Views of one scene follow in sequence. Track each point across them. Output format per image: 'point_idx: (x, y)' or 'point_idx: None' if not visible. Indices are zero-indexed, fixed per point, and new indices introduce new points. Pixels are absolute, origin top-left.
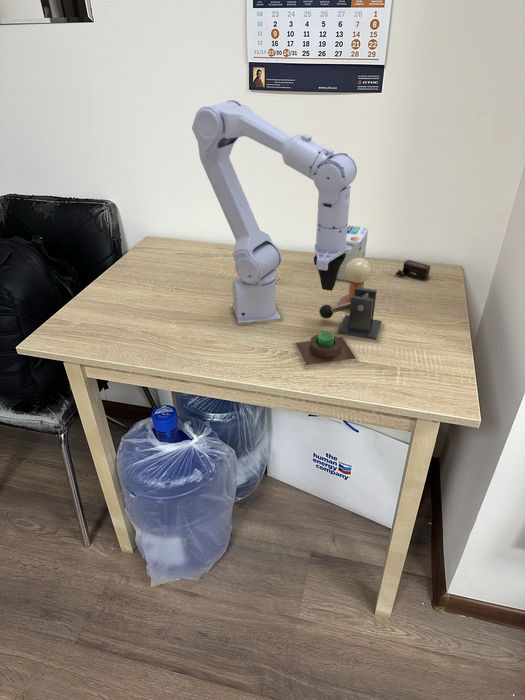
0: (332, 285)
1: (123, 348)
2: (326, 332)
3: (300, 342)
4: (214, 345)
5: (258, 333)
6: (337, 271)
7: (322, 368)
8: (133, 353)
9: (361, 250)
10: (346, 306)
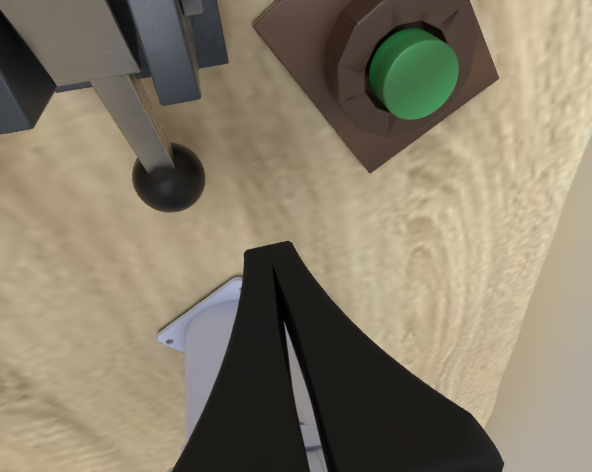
0: (307, 269)
1: (465, 390)
2: (390, 94)
3: (364, 161)
4: (424, 313)
5: (338, 277)
6: (382, 361)
7: (495, 13)
8: (477, 375)
9: None
10: (145, 102)
